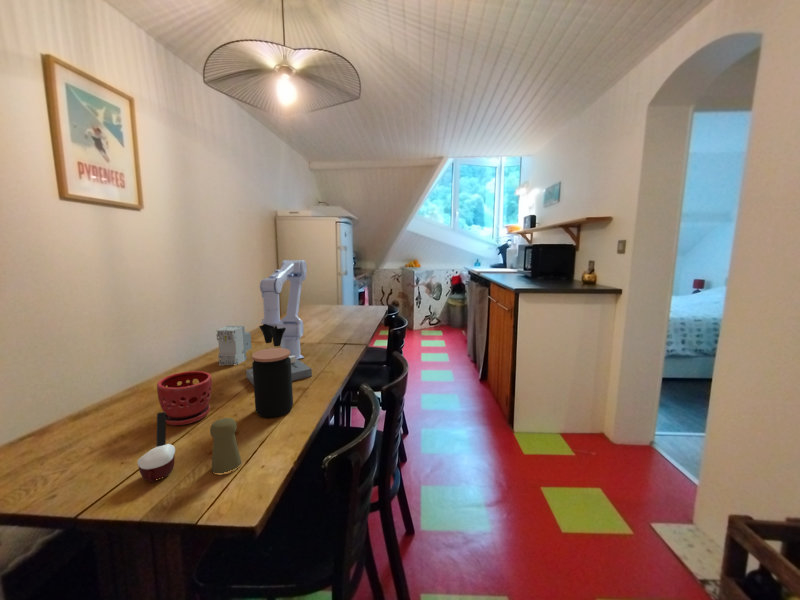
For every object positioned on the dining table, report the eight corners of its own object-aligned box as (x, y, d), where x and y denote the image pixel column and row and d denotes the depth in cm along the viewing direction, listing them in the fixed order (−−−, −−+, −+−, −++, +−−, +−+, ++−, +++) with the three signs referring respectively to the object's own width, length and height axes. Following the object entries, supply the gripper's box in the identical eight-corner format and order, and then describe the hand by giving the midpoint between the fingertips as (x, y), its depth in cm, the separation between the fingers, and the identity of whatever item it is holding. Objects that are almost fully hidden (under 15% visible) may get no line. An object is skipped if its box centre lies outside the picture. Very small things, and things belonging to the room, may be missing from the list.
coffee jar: (300, 405, 105) (297, 349, 102) (277, 422, 95) (273, 360, 92) (272, 400, 108) (269, 346, 105) (247, 415, 98) (243, 356, 95)
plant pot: (157, 434, 88) (152, 391, 87) (165, 413, 100) (160, 374, 98) (214, 422, 94) (210, 382, 93) (215, 403, 106) (211, 367, 104)
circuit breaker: (254, 355, 154) (251, 323, 151) (235, 365, 140) (233, 330, 137) (238, 354, 154) (236, 322, 152) (219, 365, 140) (215, 330, 138)
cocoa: (156, 491, 68) (149, 438, 66) (128, 488, 69) (120, 436, 66) (189, 460, 78) (184, 413, 75) (164, 458, 78) (158, 411, 76)
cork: (218, 458, 78) (214, 414, 76) (245, 457, 79) (242, 413, 77) (206, 476, 72) (201, 428, 71) (235, 474, 73) (231, 427, 71)
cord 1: (250, 370, 135) (250, 366, 135) (254, 369, 136) (254, 365, 136) (255, 375, 129) (254, 371, 129) (259, 374, 130) (259, 370, 130)
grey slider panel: (246, 377, 127) (246, 369, 127) (298, 366, 139) (297, 358, 139) (257, 389, 116) (256, 381, 116) (311, 376, 128) (311, 368, 128)
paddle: (286, 362, 133) (286, 357, 133) (294, 361, 135) (294, 355, 135) (287, 363, 132) (287, 358, 132) (295, 362, 134) (295, 356, 134)
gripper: (253, 308, 131) (255, 343, 132) (269, 312, 121) (270, 349, 122) (271, 307, 136) (272, 340, 137) (288, 310, 126) (289, 346, 127)
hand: (272, 344), depth 130 cm, fingers open, 7 cm apart
